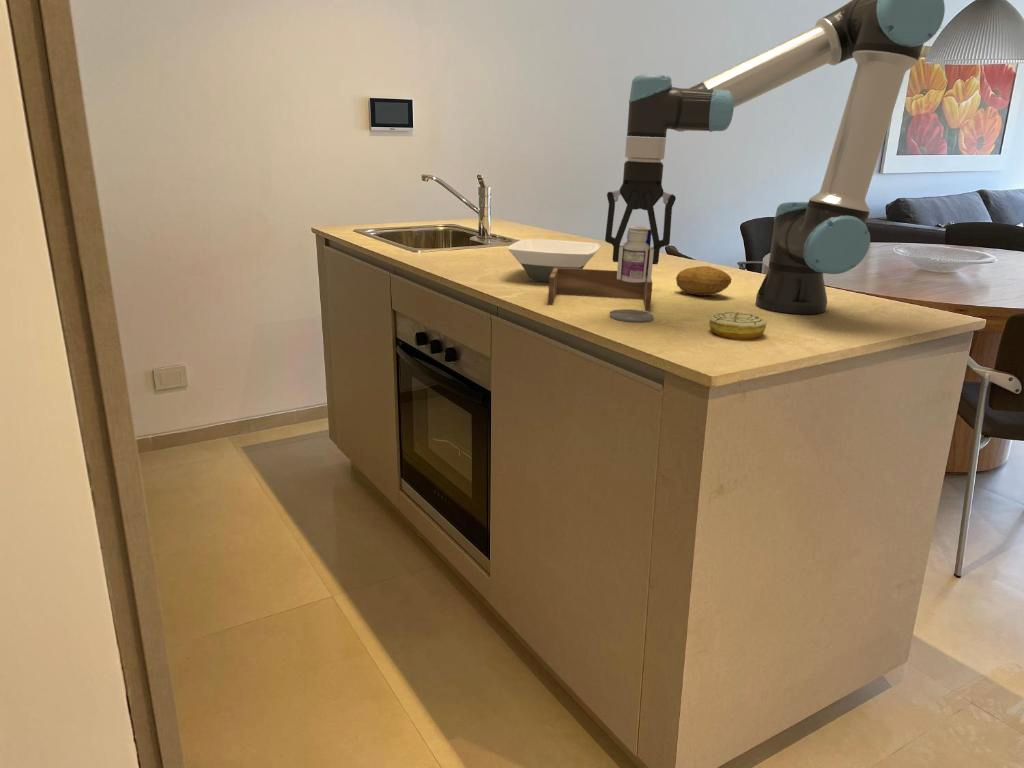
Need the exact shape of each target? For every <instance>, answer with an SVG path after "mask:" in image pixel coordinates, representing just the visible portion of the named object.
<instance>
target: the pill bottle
mask: <svg viewBox="0 0 1024 768" xmlns="http://www.w3.org/2000/svg"><path fill="white" fill-rule="evenodd" d="M647 235H648V234H647V233H645V232H628V231H627V236H626V239H628V242H627V241H626V242H624V243H623V256H622V268H621V279H622V280H623V281H626V282H635V283H636V282H645V281H646V280H647V274H648V263H649V252H650V247H651V246H650V247H649V245H648V244H647V243H646V241H647Z"/></svg>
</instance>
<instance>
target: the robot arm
mask: <svg viewBox="0 0 1024 768" xmlns="http://www.w3.org/2000/svg"><path fill="white" fill-rule="evenodd" d="M945 7H946V6H945V0H850V1H849V2H847V3H846V4H844V5H843V6H841V7H839V8H837V9H836V10H834V11H832V12H831V13H829V14H827V15H825V16H823V17H820V18H819V19H818V20H817V21H816V23H815V26H813V27H812V28H810V29H808V30H806V31H803V32H801V33H799V34H797V35H796V36H794V37H791V38H789V39H787V40H785V41H783V42H781V43H779V44H778V45H775V46H772V47H771V48H768V49H767V50H764V51H763V52H761V53H759V54H756V55H754V56H752V57H750V58H748V59H746V60H745V61H742V62H741V63H739V64H736V65H734V66H732V67H730V68H728V69H726V70H724V71H722V72H720V73H717V74H715V75H713V76H712V77H709V78H707V79H705V80H703V81H701V82H700V83H698V84H695V85H693V86H691V87H689V88H681V87H675V86H674V87H673V84H672V82H673V80H672V78H671V77H670V76H669V75H664V74H663V75H662V74H638V75H636V76H634V78H633V79H632V81H631V87H630V94H629V99H628V103H629V104H628V115H627V116H628V119H627V130H626V131H627V132H626V141H625V150H624V152H625V154H624V157H625V158H626V159H627V160H625V162H624V165H623V176H622V177H623V179H622V184H621V186H620V188H619V189H616V190H613V191H612V190H610V191H607V192H606V198H607V202H608V210H607V211H608V212H607V219H606V220H607V221H606V226H605V227H606V229H605V237H604V241H605V242H606V243H608V244H611V245H612V247H613V249H612V250H613V251H612V262H613V263H617V270H616V271H617V279H619V280H621V268H622V256H623V245H624V244H623V245H621V242H622V240H623V237H624V234H625V232H626V228H627V226H628V223H629V220H630V218H631V216H632V215H631V214H632V212H633V210H639V209H640V210H643V211H647V215H648V216H647V218H648V221H649V228H651V240H652V245H653V246H650V252H649V263H648V274H647V281H651V279H652V275H653V274H652V272H653V265H658V264H659V261H660V260H659V259H660V250H661V249H662V248H663V247H667V246H669V245H670V243H671V229H672V215H673V206H674V204H675V202H676V200H677V198H676V195H674V194H672V193H671V194H670V193H667V192H665V191H664V189H663V186H662V184H663V183H662V182H663V172H664V164H663V162H662V160H664V159H665V154H666V141H667V132H668V130H674V131H677V132H685V131H687V132H688V131H691V132H692V131H693V132H694V131H696V132H697V131H699V132H701V131H702V132H710V133H711V132H725V131H726V130H727V129H728V128H729V126H730V125H731V123H732V119H733V116H734V109H735V108H737V107H739V106H741V105H743V104H745V103H747V102H749V101H752V100H753V99H755V98H757V97H759V96H762V95H764V94H766V93H768V92H770V91H772V90H774V89H776V88H778V87H782V85H785V84H786V83H789V82H792V81H793V80H795V79H797V78H800V77H802V76H803V75H806V74H808V73H811V72H813V71H814V70H816V69H818V68H820V67H823V66H825V65H827V64H828V65H830V66H837V65H839V64H841V63H843V62H845V61H848V60H850V59H854V61H855V62H856V63H855V64H856V70H855V73H854V76H853V78H852V79H853V80H852V83H851V87H850V90H849V93H848V97H847V99H846V103H845V107H844V111H843V113H842V116H841V120H840V123H839V127H838V129H837V130H838V131H837V133H836V136H835V141H834V143H833V147H832V149H831V154H830V157H829V160H828V164H827V166H826V171H825V174H824V177H823V181H822V184H821V187H820V190H819V192H818V193H816V194H815V195H812V196H811V197H810V198H809V201H806V202H805V201H798V202H793V201H792V202H783V203H780V204H779V205H778V206H777V208H776V212H775V215H774V217H773V221H774V223H773V230H772V237H771V245H770V246H771V247H770V254H769V261H768V268H767V272H766V274H765V277H764V278H763V281H762V283H761V285H760V287H759V289H758V291H757V293H756V296H755V304H754V305H756V306H757V307H759V308H762V309H765V310H768V311H772V312H779V313H786V314H793V315H794V314H795V315H814V314H815V315H817V314H816V313H818V314H823V313H825V312H826V311H827V307H828V296H827V290H826V284H825V281H824V280H825V279H824V274H828V275H829V274H830V275H841V274H844V273H846V272H849V271H850V270H852V269H855V268H856V267H857V266H858V265H859V264H861V262H862V261H863V260H864V259H865V257H866V255H867V253H868V251H869V249H870V245H871V234H870V232H869V229H868V226H867V221H868V219H869V215H870V212H871V210H870V207H869V205H868V203H866V197H867V194H868V191H869V188H870V185H871V182H872V180H873V179H872V178H873V176H874V172H875V169H876V166H877V163H878V160H879V157H880V153H881V150H882V147H883V143H884V142H885V141H884V140H885V138H886V135H887V131H888V128H889V124H890V122H891V119H892V116H893V112H894V109H895V107H896V103H897V100H898V96H899V93H900V91H901V88H902V84H903V81H904V78H905V75H906V73H907V71H908V70H910V69H912V68H913V67H915V66H916V65H917V64H918V62H919V60H920V56H921V54H922V50H923V48H924V44H925V43H927V42H929V41H930V40H932V38H933V37H935V35H936V34H937V32H939V29H940V28H941V26H942V23H943V21H944V18H945V11H946V10H945V9H946V8H945ZM620 196H621V197H622V199H623V200H624V202H625V204H626V207H625V210H624V213H623V216H622V219H621V220H620V221H621V222H620V224H619V227H618V229H617V233H616V235H615V237H614V236H613V228H614V226H613V225H614V217H615V209H616V202H618V201H619V197H620ZM661 198H662V203H663V204H664V205H665V206H664V216H663V217H664V218H663V219H664V220H663V229H662V230H663V233H662V235H663V236H662V239H660V237H659V232H658V225H657V219H656V215H655V210H654V209H655V208H654V206H655V205H656V204H657V203H658V202H659V201H660V199H661ZM824 311H825V312H824ZM822 312H823V313H822Z"/></svg>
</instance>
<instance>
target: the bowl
mask: <svg viewBox="0 0 1024 768" xmlns="http://www.w3.org/2000/svg"><path fill="white" fill-rule="evenodd" d="M601 247H602V246H601V245H600V243H595V242H584V241H573V240H562V239H561V240H557V239H556V240H555V239H539V238H535V239H533V238H525V239H521V240H517V241H515V242H514V243H512V244H510V245H508V248H507V249H508V251H509V252H510V254H511V255H512V256H513V257H514V258H515V260H516V261H517V262H518V263H519V264H520V265H521V266H522V269H524V271H525V272H526V274H527V276H528V277H529V279H530V280H531V281H533V280H534V282H541V281H543V282H544V283H549V277H550V275H551V273H552V271H553V269H554V267H555V268H574V269H585V268H584V267H585V266H586V264H587V263H589V261H590V260H591V259H592V258H593V257H594V256H595V254H596V253H597V252H598V251H599V250H600V249H601Z"/></svg>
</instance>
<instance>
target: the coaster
mask: <svg viewBox="0 0 1024 768" xmlns="http://www.w3.org/2000/svg"><path fill="white" fill-rule="evenodd" d="M609 317H610V319H613V320H616V321H619V322H620V321H621V322H627V323H628V322H629V323H645V322H651V321H653V320H654V314H653V313H651V312H649V311H644V310H641V309H640V310H638V309H625V308H624V309H614V310H611V311H609Z"/></svg>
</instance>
